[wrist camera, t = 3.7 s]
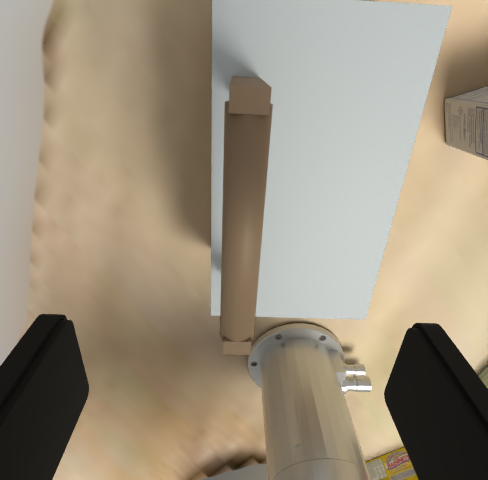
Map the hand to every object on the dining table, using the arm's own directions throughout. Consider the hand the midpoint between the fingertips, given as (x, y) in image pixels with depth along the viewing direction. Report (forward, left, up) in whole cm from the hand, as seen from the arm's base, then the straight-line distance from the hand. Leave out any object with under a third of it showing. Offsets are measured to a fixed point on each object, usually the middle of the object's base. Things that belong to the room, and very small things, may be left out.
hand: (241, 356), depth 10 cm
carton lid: (-5, 0, -16) cm, 16 cm away
